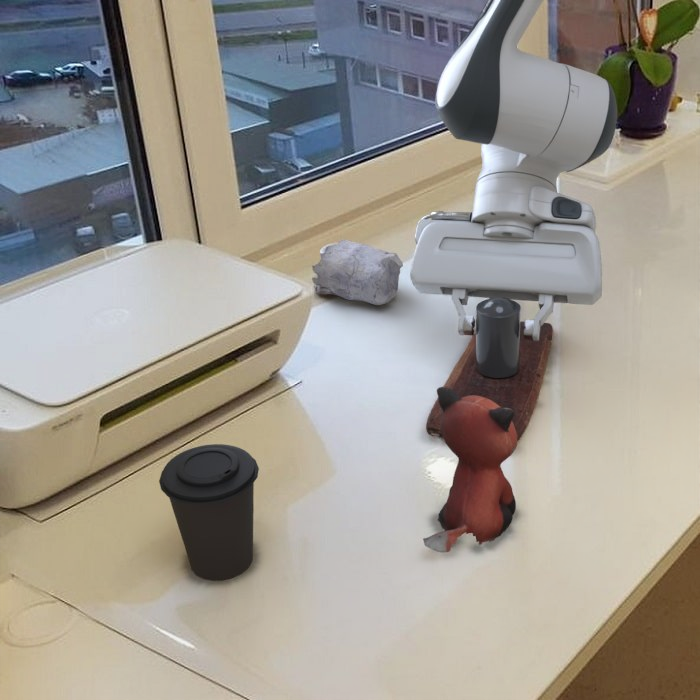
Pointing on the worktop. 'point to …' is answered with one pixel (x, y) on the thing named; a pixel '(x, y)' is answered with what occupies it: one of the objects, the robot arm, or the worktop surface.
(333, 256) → the stone
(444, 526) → the stuffed fox
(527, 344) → the wooden tablet
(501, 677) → the worktop surface
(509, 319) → the dome-topped grey canister
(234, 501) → the coffee cup
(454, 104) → the robot arm
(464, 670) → the worktop surface
